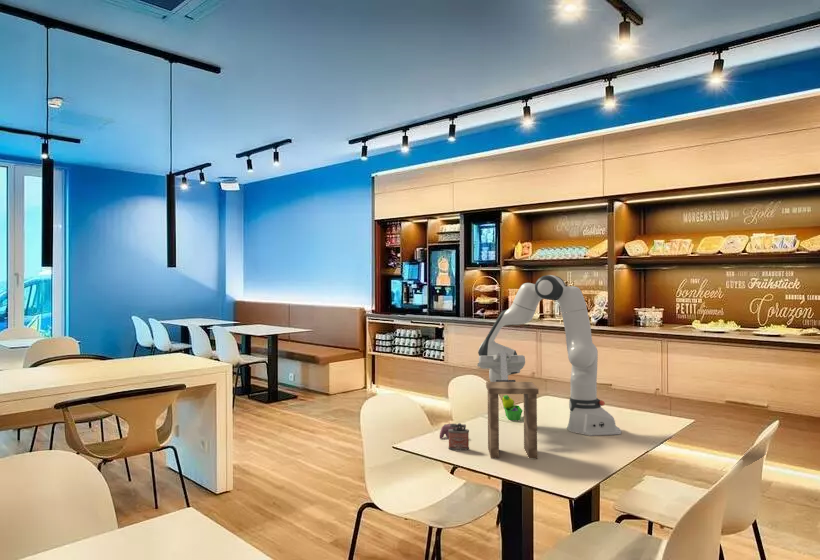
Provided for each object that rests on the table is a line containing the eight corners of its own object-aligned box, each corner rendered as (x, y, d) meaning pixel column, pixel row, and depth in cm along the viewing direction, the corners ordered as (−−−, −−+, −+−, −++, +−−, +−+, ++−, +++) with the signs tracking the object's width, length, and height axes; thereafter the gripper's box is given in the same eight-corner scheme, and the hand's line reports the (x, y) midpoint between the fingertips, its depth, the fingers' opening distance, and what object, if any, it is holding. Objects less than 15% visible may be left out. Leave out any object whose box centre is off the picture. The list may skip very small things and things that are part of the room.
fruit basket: (523, 421, 256) (522, 397, 256) (504, 421, 256) (504, 397, 256) (518, 415, 267) (518, 392, 267) (500, 415, 267) (500, 392, 267)
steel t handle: (511, 353, 237) (512, 349, 233) (515, 392, 227) (516, 388, 224) (492, 353, 237) (493, 349, 234) (495, 392, 227) (496, 389, 224)
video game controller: (463, 442, 227) (465, 425, 230) (461, 440, 223) (463, 423, 226) (440, 440, 230) (442, 423, 233) (438, 438, 226) (440, 421, 229)
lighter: (469, 448, 214) (468, 422, 214) (469, 450, 210) (468, 424, 210) (448, 447, 214) (448, 422, 215) (448, 450, 211) (448, 424, 211)
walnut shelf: (532, 448, 213) (532, 382, 213) (539, 459, 199) (538, 388, 199) (486, 447, 214) (486, 381, 214) (489, 459, 200) (489, 388, 200)
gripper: (476, 360, 247) (478, 348, 235) (522, 359, 246) (526, 347, 234) (477, 373, 244) (479, 361, 232) (523, 373, 243) (527, 361, 231)
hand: (503, 354), depth 233 cm, fingers closed on steel t handle, 2 cm apart
